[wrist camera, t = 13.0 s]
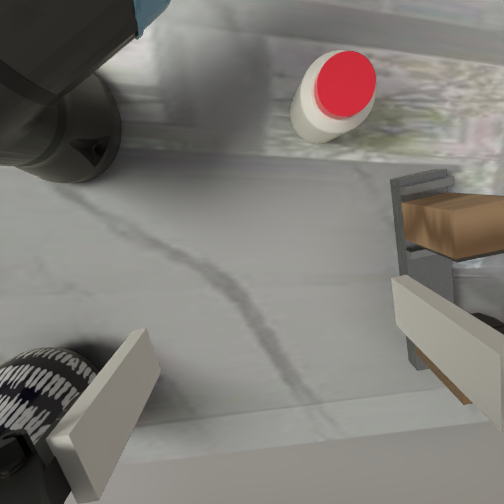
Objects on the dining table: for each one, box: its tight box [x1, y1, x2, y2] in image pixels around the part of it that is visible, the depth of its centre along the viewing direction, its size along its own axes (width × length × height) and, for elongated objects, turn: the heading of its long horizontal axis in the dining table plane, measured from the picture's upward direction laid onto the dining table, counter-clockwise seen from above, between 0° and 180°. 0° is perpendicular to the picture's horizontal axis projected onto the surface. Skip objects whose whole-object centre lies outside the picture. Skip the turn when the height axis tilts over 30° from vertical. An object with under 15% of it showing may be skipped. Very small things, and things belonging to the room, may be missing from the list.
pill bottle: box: [290, 50, 376, 144], centre depth 32 cm, size 8×8×11 cm
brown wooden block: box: [401, 193, 504, 262], centre depth 33 cm, size 6×6×10 cm
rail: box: [390, 169, 472, 405], centre depth 36 cm, size 29×6×12 cm, turn 13°
